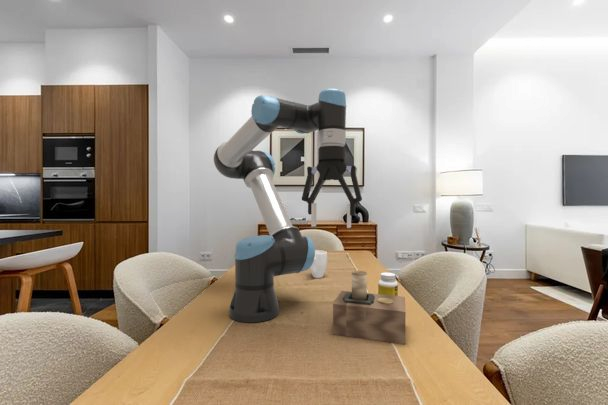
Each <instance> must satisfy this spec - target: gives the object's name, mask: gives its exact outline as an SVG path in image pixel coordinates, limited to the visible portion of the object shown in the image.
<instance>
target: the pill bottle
mask: <svg viewBox="0 0 608 405" xmlns="http://www.w3.org/2000/svg"><path fill="white" fill-rule="evenodd" d="M395 279H397V278H396V274H395V273H394V272H381V273H380V279H379V281H377V282H378V283H377V284H378V285H377V290H378V291H377V294H380V295H391V296H399V295H398V294H399V284H398V282H397V281H396V280H395Z"/></svg>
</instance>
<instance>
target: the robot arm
mask: <svg viewBox="0 0 608 405" xmlns="http://www.w3.org/2000/svg"><path fill="white" fill-rule="evenodd" d="M317 100H318V101H317V102H315V103H313V104H309V105H307V104H304V103H299V102H296V101H290V100H285V99H282V98H278V97H274V96H272V95H270V96H269V95H263V94H262V95H261V94H260V95H258V96H256V97H255V98H254V100H253V103H252V105H251V117H249V118H248V119H247V120H246V122H245V123H244V124H243V125H242V126H241V127H240V128H239V129H238V130H237V131H236V132H235V133H234V134H233V135H232V137H230V138H229V140H228V141H227V142H222V143H221V144H220V145H219V146H218V147H217V148H216V150H215V151H214V154H213V164H214V166H215V168H216V170H217V171H218V172H219V173H220V174H221V175H223V176H224V177H225V178H226V177H227V178H229V179H235V180H236V179H237V180H243V181H244V184H245V186H246V187H247V188H249V189H251V191H252V194H253V196H254V199H255V202H256V204H257V208H258V209H259V211H260V215H261V216H262V220H263V221H264V224H265V227H266V229H267V232H268V234H269V235H268V234H262V235H252V236H249V237H245V238H242V239H240V240H239V241H237V242H236V245H235V252H234V253H235V254H234V258H235V260H234V261H235V262H234V263H235V264H234V266H235V267H234V268H235V270H234V271H235V272H234V273H235V274H234V275H235V277H234V279H235V280H234V282H235V287H234V292H233V295H232V298H231V302H230V303H229V304H230V305H229V307H228V308H229V309H228V310H229V311H228V312H229V313H228V314H229V317H230V318H231V319H232V320H234V321H237V322H241V323H261V322H265V321H269V320H273V319H274V318H276V317H278V316H279V313H280V304H279V302H278V301H279V300H278V297H277V295H276V292H275V286H274V285H275V284H274V283H275V280H274V279H275V278H274V277H279V276H284V275H291V274H299V273H301V272H305V271H308V270H310V267H311V266H312V264H313V261H314V256H315V250H316V249H315V248H316V247H315V244H314V242H313V240H312V239H311V238H310V237H308V236H306V235H304V236H303V235H302V233H301V231H300V229H299V227H297V226H294V225H293V224H292V222H291V219H290V216H289V215H288V213H287V210H286V208H285V206H284V204H283V202H282V200H281V197H280V195H279V193H278V191H277V189H276V186H275V184H274V181H273V178H274V176H275V172H276V167H275V165H276V164H275V160H274V158H273V156H272V155H271V154H270V153H269V152H266V151H262V150H254V149H255V148H256V147H257V146H258V145H259V144H261V143H262V142H263V141H264V140H265V139H267V137H268V136H270V135H271V134H272V133H273V132H274V131H276V130H277V129H278V128H285V129H291V130H293V131H295V132H296V133H298V134H310V133H313V132H316V131H318V146H319V147H318V151H317V152H318V153H317V154H318V161H317V165H316V166H307V167H306V171H307V175H306V180H305V184H304V187H303V192H302V196H301V200H302V201H304V202H305V203H307V209H308V210H307V214H308V215H311V217H310V219H311V222H310V224H311V225H310V226H311V227H312V228H313V227H317V203H316V202H315V200H316V198H317V197H318V195H319V193H320V191H321V189H322V187H323V186H324V184H325V182H326V181H338V182H339V185H340V186H341V187H342V190H343V192H344V194H345V195H346V198H347V199H348V202H349V203H347V204H346V228H347V229H350V228H352V216H353V217H354V216H355V214H356V204H357V203H359V202H362V200H363V197H362V193H361V189H360V185H359V181H358V178H357V172H358V171H357V168H358V167H356V166H355V165H347V163H346V147H345V145H346V142H347V141H346V124H347V123H346V122H347V121H346V120H347V119H346V116H347V112H346V111H347V100H346V92H345V91H344V90H342V89H338V88H333V87H332V88H324V89H322V90H321V91H320V92H319V94H318V99H317ZM346 171H348V174H350V177H351V178H350V179H351V182H352V187H353V191H354V196H355V197H354V196H353V193H352V191H351V189H350V188H349V186H348V184H347V182H346V180H345V177H344V176H343V175H344V174H345V172H346ZM317 172H318V174H319V177H318V179H317V182H316V184H315V186H314V188H313V189H312V185H313V181H314V176H315V174H316V173H317ZM311 189H312V191H311ZM310 193H311V194H310Z"/></svg>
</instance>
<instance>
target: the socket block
mask: <svg viewBox="0 0 608 405" xmlns="http://www.w3.org/2000/svg"><path fill="white" fill-rule="evenodd" d="M406 312H407V311H406V297H405V296H402V295H401V296H399V295H398V296H391V295H380V294H378V293H367V300H366V301H365V300H356V299H352V291H349V290H341V291H340V292H339V294H338V295H337V297H336V298H335V300H334V302H332V335H335V336H336V335H337V336H341V337H342V336H343V337H349V338H358V339H365V340H370V341H378V342H386V343H394V344H398V345H399V344H400V345H406V318H407V316H406V314H407V313H406Z"/></svg>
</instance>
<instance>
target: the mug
mask: <svg viewBox="0 0 608 405" xmlns="http://www.w3.org/2000/svg"><path fill="white" fill-rule="evenodd" d="M327 266H328V252H327V251H326V250H321V249H315V256H314V261H313V264H312V266H311V267H310V268H309V270H310V272H311V275H312V277H313V278H315V279H321V278H323V277H324V275H325V272H326V270H327V269H326V268H327Z"/></svg>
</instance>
